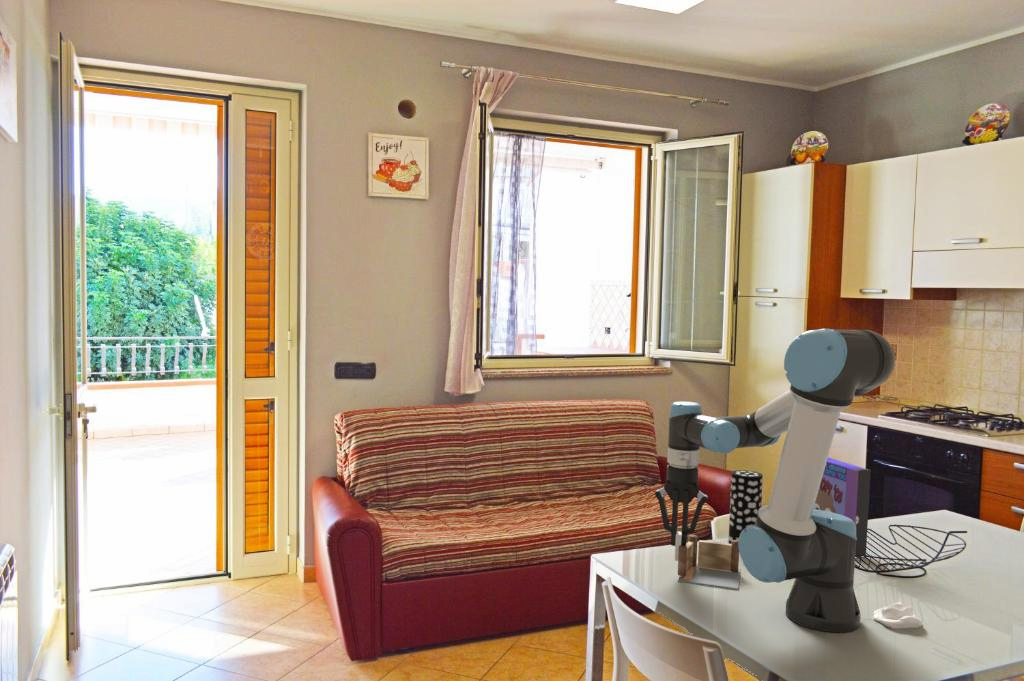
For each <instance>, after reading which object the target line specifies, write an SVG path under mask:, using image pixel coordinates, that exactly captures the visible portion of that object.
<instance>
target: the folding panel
mask: <svg viewBox="0 0 1024 681" xmlns="http://www.w3.org/2000/svg"><path fill="white" fill-rule="evenodd" d="M693 543H694V542H690V541H689V542H688V541H687V543H686V546H683V545H681V546H679V554H678V561H677V576H678V577H679V576H686V573H687V571H688V570H689V569H690V568H691V567H692V565H693Z"/></svg>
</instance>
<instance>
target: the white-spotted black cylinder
mask: <svg viewBox="0 0 1024 681" xmlns="http://www.w3.org/2000/svg"><path fill="white" fill-rule="evenodd" d="M763 476H764V475H763V474H762V473H761V472H758V471H753V470H744V469H742V470H741V469H738V470H732V471H731V478H730V479H731V480H730V498H729V499H730V501H729V503H730V504H729V520H728V521H729V522H728V524H729V525H728V544H731V541H732V540H737V541H739V536H740V534H741V532H742V530H743V529H745V528H747V527H748V526H750V525H755V522H756V518H757V514H758V511H759V509H760V508H761V507H762V497H763V496H762V494H763V478H764V477H763Z"/></svg>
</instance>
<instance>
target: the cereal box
mask: <svg viewBox="0 0 1024 681" xmlns="http://www.w3.org/2000/svg"><path fill="white" fill-rule="evenodd" d="M871 472H872V471H871V469H868V468H865V467H861V466H858V465H855V464H852V463H848V462H845V461H841V460H838V459H835V458H832V457H829V456H828V458H827V462H826V466H825V469H824V473H823V476H822V480H821V483H820V487H819V491H818V494H817V498H816V501H815V505H814V508H813V509H817V510H823V511H828V512H832V513H836V514H840V515H843V516H846V517H848V518H850V519H852V520H853V521H854V523H855V525H856V537H857V540H856V551H855V557H861V556H866V557H867V542H868V541H867V540H868V526H869V525H868V524H869V511H870V510H869V508H870V507H869V506H870V505H869V504H870V489H871V488H870V487H871ZM861 558H862V557H861Z"/></svg>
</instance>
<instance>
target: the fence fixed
mask: <svg viewBox="0 0 1024 681" xmlns="http://www.w3.org/2000/svg"><path fill="white" fill-rule="evenodd" d="M698 539H699V537H698V535H696V534H687V543H688V542H689V541H690V542H694V543H693V565H692V567H695V566H696V564H698V567H704V568H712V569H719V570H727V571H732V572H738V569H740V568H739V565H740V564H739V562H740V553H739V545H738V544H739V541H737V540H732V541H731V544H729V543H725V542H719V541H718V542H717V541H716V542H715V541H709V540H701V539H699V540H698Z"/></svg>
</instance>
